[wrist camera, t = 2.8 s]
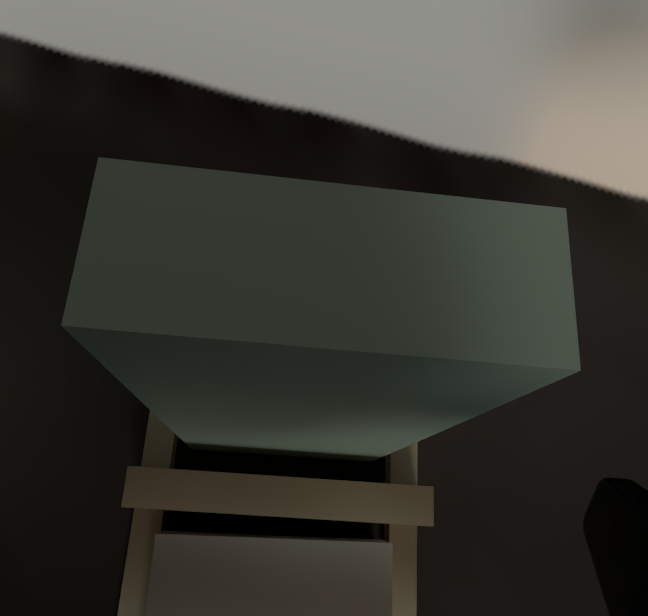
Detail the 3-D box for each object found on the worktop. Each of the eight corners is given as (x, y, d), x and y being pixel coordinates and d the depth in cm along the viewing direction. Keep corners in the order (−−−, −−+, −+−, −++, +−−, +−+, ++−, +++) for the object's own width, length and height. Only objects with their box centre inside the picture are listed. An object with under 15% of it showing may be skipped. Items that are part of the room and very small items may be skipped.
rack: (407, 833, 15) (435, 892, 13) (90, 828, 14) (57, 889, 12) (411, 348, 19) (432, 326, 17) (168, 327, 19) (155, 300, 16)
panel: (370, 462, 18) (580, 370, 6) (191, 449, 18) (61, 326, 6) (372, 398, 19) (565, 208, 7) (200, 384, 18) (98, 157, 7)
